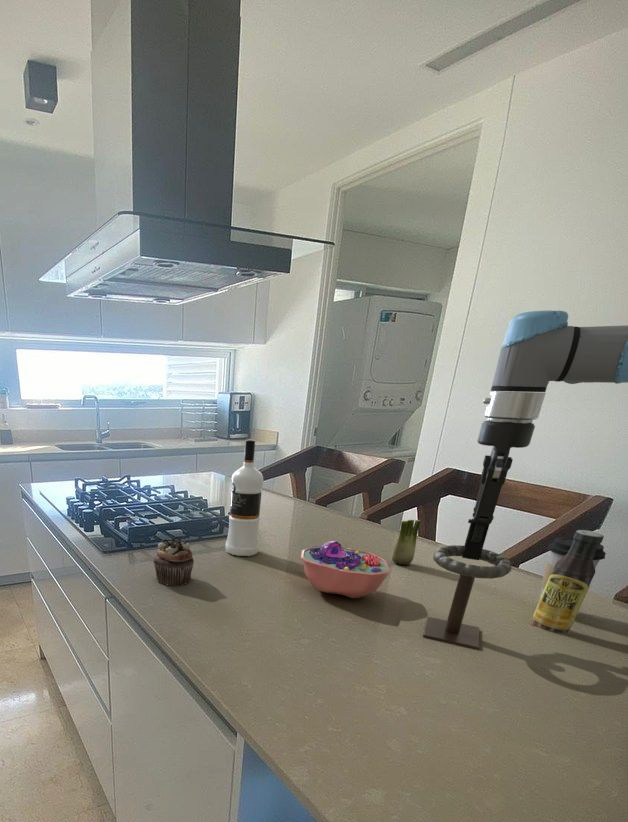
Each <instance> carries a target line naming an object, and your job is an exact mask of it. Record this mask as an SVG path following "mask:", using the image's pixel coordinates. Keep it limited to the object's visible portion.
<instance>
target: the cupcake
mask: <svg viewBox="0 0 628 822" xmlns="http://www.w3.org/2000/svg"><path fill="white" fill-rule="evenodd" d="M157 547H158V549H157V550H156V556H155V557H154V558H153V559H152V561H153V566H154V570H155V576H156V581H157V580H158V581H159V582H158V581H157V582H158V583H160V582H161V583H160V584H162V583H164V584H168V585H167V586H169V585H180V586H182V585H181V584H183V585H186V584H185V583H187V582H188V581H189V580H190V581H191V577H192V572H193V568H194V563H195V561H194V558H193V552H192V551H191V549H190V543H188V542H186V541H181V540H180V541H179V538H178V537H174V538H172V539H162V540H161V542H159V543H158V544H157ZM190 581H189V582H190ZM189 582H188V583H189ZM188 583H187V584H188ZM164 584H163V585H164Z"/></svg>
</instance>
